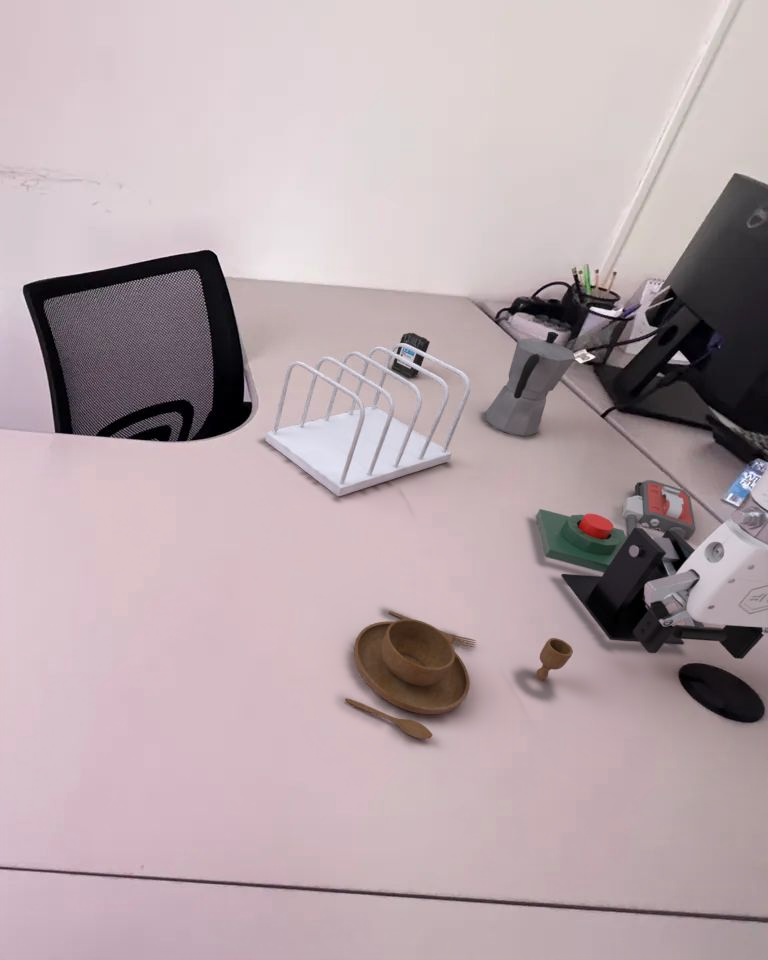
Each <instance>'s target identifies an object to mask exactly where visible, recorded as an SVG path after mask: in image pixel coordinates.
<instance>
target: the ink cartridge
mask: <svg viewBox="0 0 768 960" xmlns="http://www.w3.org/2000/svg"><path fill="white" fill-rule="evenodd" d="M399 343H406V344H408V345H410V346H412V347H414V348H416V349H419V350H421V351H423V352H425V353H427V351H428V348H429V345H430V343H431V341H430V340H428V339H427V338H426V337H423V336H420V335H418V334H417V333H415V332H407V333H403V335H402V336H401V338H400V341H399ZM395 353H396V354H398V355H400V356H402V357H404V358H405V359H407V360H409V361H411V362H413V363H415V364H417V365H418V366H420V367H422V364H423V362H424V359H425V357H423V356H421V355H419V354H417V353H415V352H413V351H411V350H409V349H407V348H404V347H398V348H397V349H396V352H395ZM391 369H392V370H393V371H394V372H397V374H398V373H399V374H401V376H402V375H403V376H404V377H406V378H409V379H410V378H413V377H416V376H419V373H420V371H418V370H416V369H414V368H413V367H411V366H409V365H407V364H405V363H403V362H402V361H400V360H398V359H396V358H394V360H393V362H392V365H391Z"/></svg>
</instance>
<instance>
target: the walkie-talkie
mask: <svg viewBox="0 0 768 960" xmlns="http://www.w3.org/2000/svg"><path fill="white" fill-rule="evenodd" d="M692 505H693V504H692V498H691V496H690V495H689V494H688V493H687V492H686V491H685V490H684V489H682V488H678V487H676V486H672V485H669V484H666V483H662V482H659V481H656V480H652V479H648V480H645V481H637V483H636V484H635V485H634V495H633V496H629V497H627V498H626V499H625V501H624V502H623V504H622V513H621V517H622V518H624V519H625V522H626V524H627V525H626V526H627V529H626V530H627V537H628V536H629V535H630V533H631V532H632V530H633V529H634V528H637V523H638V524H640V526H641V528H642V527H644V528H647V529H648V528H650V529H653V530H659V532H661V533H665V532H666V531H667V530H671V531H675V532H676V533H677V534H678V535H680V536H681V537H682V538H683V539H684V540H685V541H688V540H690V538H692V537H693V535H694V534H695V531H697V527H696V523H695V517H694V511H693V506H692Z"/></svg>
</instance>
